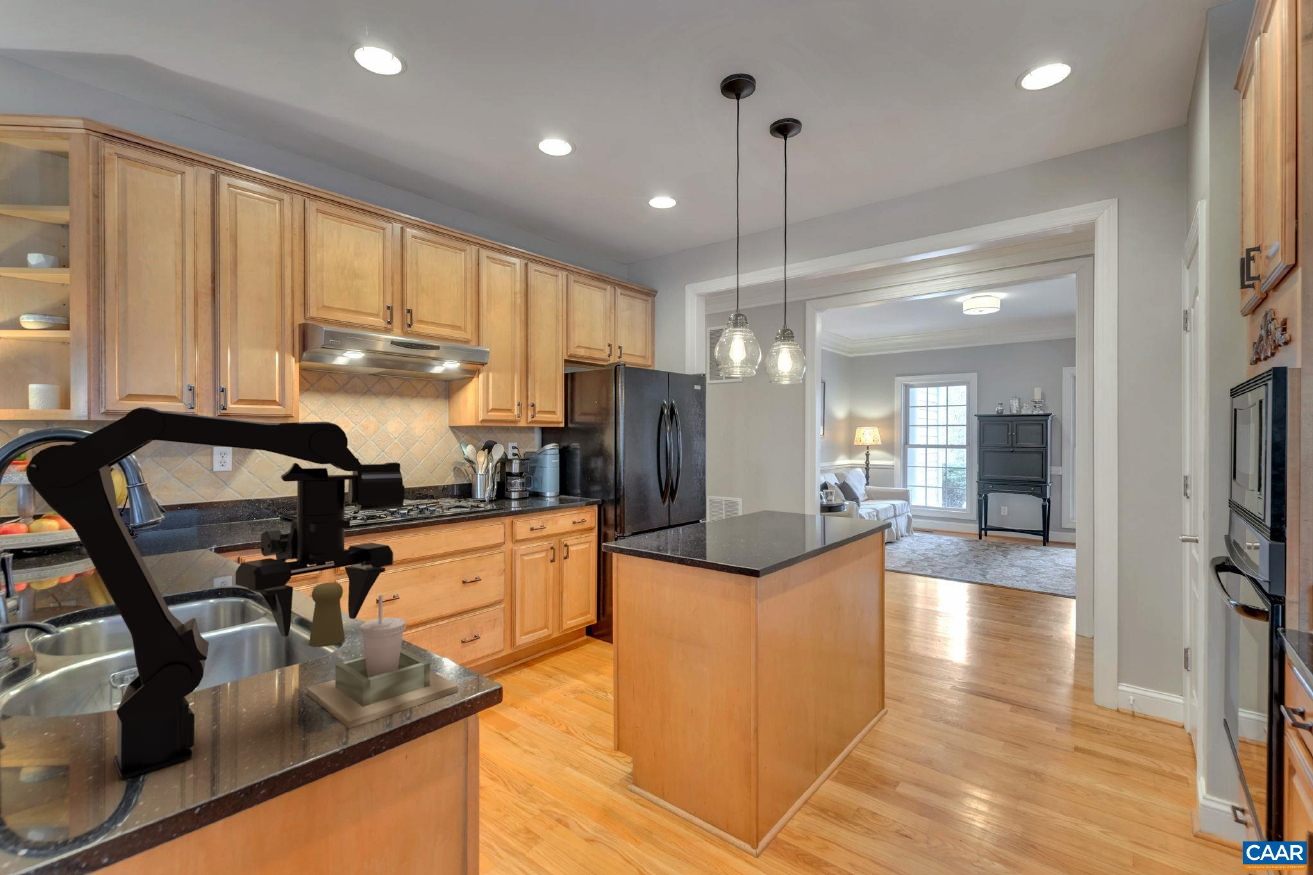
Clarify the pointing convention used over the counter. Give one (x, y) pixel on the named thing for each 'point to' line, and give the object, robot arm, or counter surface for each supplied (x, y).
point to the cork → (327, 615)
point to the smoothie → (382, 643)
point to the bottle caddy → (379, 689)
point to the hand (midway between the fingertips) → (320, 626)
